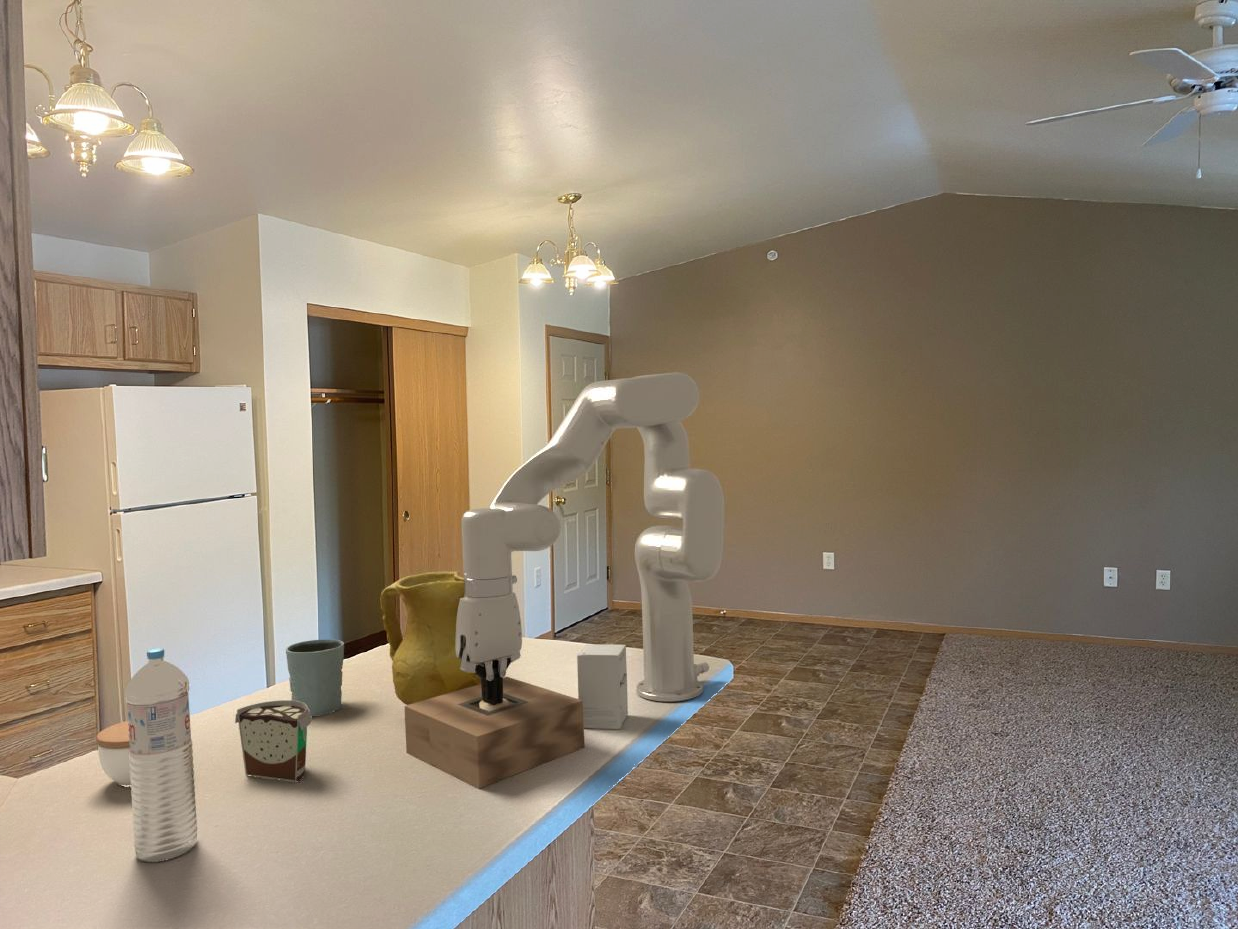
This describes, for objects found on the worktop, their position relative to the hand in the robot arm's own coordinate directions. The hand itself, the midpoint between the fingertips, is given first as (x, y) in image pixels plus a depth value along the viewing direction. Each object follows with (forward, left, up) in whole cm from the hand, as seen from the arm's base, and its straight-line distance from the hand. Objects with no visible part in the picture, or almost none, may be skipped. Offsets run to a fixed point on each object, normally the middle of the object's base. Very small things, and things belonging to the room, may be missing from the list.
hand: (492, 702), depth 130 cm
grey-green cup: (+10, -42, -8) cm, 44 cm away
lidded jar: (+42, -32, -8) cm, 53 cm away
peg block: (0, 0, -8) cm, 8 cm away
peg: (0, 0, -7) cm, 7 cm away
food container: (+26, -18, -8) cm, 33 cm away
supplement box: (-20, +4, -8) cm, 22 cm away
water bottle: (+46, -5, -8) cm, 47 cm away
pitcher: (-4, -22, -8) cm, 24 cm away
